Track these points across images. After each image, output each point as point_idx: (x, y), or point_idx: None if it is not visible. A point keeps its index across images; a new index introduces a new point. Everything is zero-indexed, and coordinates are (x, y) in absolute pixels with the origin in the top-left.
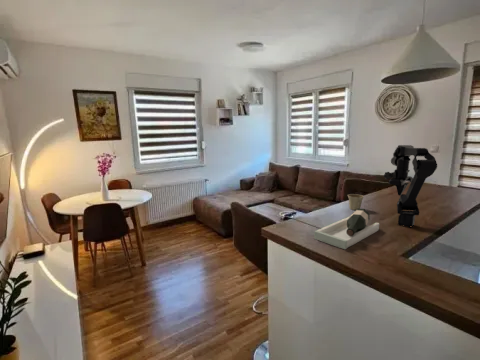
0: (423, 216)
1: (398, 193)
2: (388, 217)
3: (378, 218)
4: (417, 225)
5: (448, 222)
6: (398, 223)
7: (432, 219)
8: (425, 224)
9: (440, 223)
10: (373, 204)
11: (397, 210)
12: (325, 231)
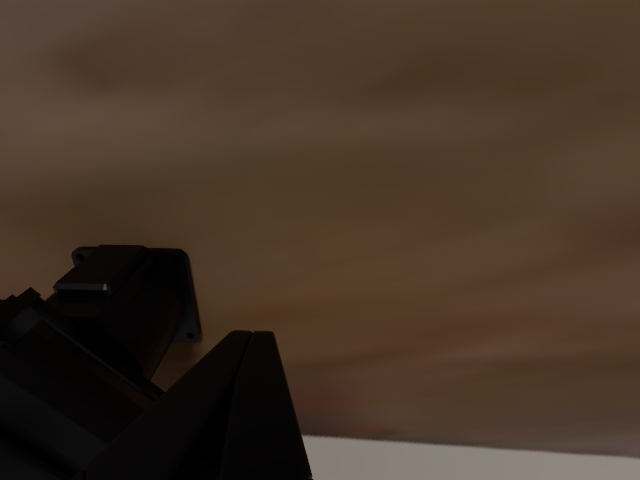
0: (526, 319)
1: (201, 375)
2: (226, 100)
3: (81, 27)
4: (214, 343)
5: (464, 446)
6: (88, 252)
7: (472, 377)
8: (290, 371)
9: (398, 422)
10: None
11: (3, 301)
12: None
